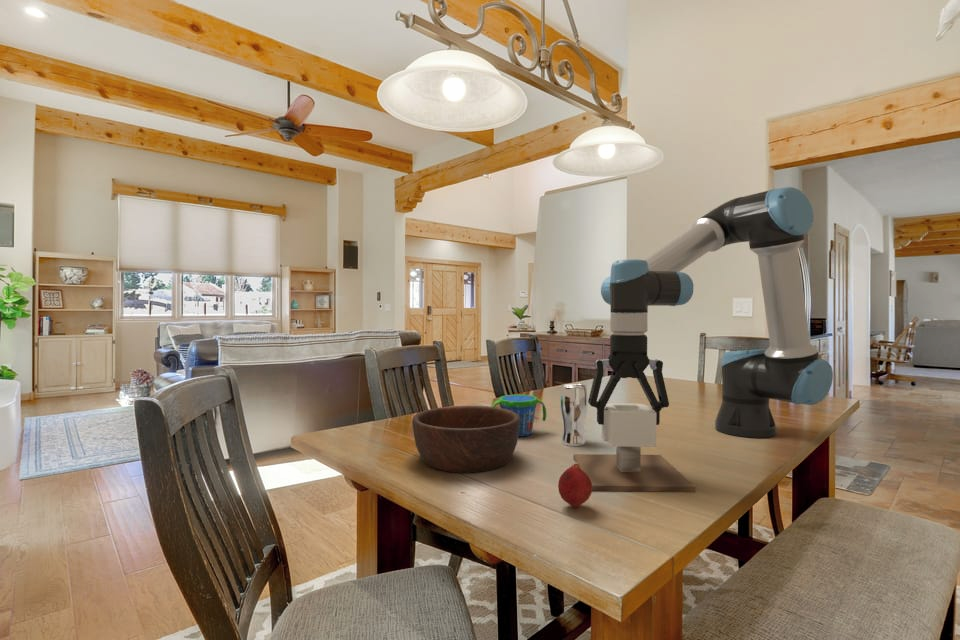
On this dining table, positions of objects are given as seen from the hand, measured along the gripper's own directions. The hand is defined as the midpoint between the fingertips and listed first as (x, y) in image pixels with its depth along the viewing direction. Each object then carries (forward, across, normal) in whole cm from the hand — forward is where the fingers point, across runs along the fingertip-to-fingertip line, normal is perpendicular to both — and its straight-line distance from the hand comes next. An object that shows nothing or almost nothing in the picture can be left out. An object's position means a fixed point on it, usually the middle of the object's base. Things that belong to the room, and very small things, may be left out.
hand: (627, 439), depth 103 cm
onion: (+8, +14, +18) cm, 24 cm away
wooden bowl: (+8, +35, -9) cm, 37 cm away
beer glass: (+7, +8, -23) cm, 26 cm away
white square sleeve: (0, 0, 0) cm, 0 cm away
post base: (+7, 0, 0) cm, 7 cm away
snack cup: (+7, +22, -32) cm, 40 cm away
